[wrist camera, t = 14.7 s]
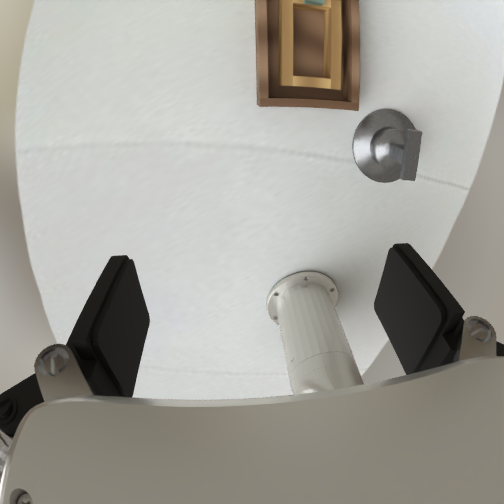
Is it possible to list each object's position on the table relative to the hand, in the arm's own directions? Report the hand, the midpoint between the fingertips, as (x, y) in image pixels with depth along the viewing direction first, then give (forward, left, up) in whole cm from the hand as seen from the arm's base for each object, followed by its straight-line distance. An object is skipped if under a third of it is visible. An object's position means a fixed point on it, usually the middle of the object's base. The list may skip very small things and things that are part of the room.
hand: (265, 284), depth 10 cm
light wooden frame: (+12, -8, -29) cm, 33 cm away
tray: (+12, -8, -30) cm, 33 cm away
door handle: (-1, -21, -30) cm, 37 cm away
